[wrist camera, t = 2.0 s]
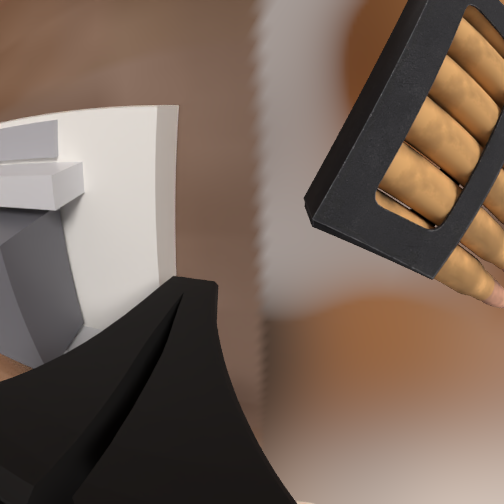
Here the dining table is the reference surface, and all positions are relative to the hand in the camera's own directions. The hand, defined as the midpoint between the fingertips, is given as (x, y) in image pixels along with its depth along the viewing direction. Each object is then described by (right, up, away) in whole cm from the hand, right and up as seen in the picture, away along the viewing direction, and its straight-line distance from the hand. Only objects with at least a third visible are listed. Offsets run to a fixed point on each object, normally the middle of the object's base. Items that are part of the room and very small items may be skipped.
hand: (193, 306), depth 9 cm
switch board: (-10, +3, +3) cm, 11 cm away
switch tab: (-7, +1, +1) cm, 7 cm away
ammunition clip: (+5, +7, -2) cm, 9 cm away
